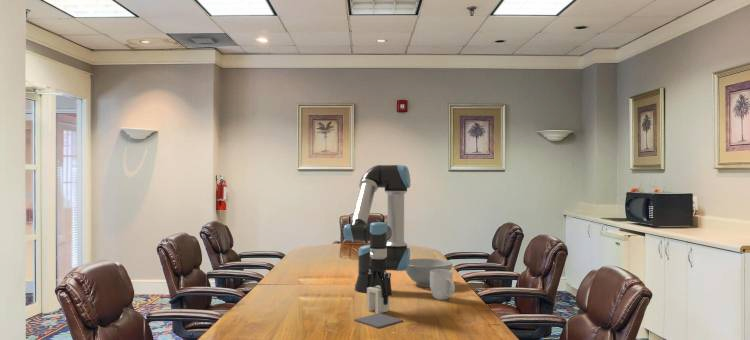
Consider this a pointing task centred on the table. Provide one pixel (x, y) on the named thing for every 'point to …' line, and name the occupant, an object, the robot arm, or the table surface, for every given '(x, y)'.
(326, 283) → the table surface
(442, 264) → the decorative bowl
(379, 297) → the white upright block
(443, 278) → the mug
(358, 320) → the mat
